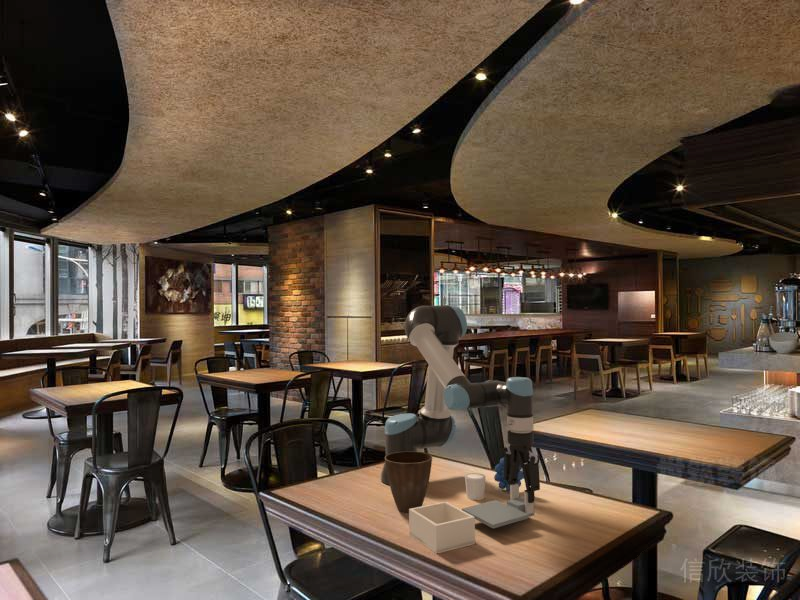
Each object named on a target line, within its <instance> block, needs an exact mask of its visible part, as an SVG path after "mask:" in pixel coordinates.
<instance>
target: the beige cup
mask: <svg viewBox="0 0 800 600" xmlns="http://www.w3.org/2000/svg"><path fill="white" fill-rule="evenodd" d="M464 481H465V490H466V498H467V499H469V500H471V501H480V500H483V499H485V488H486V475H485V474H482V473H475V472H474V473H467V474H465V475H464Z"/></svg>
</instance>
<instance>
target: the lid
mask: <svg viewBox="0 0 800 600" xmlns="http://www.w3.org/2000/svg"><path fill="white" fill-rule="evenodd" d="M461 510H463V511H464V512H466V513H468V514H470V515H472V516H474V517H475V521H478V522H479V523H482V524H483V525H486V526H488V528H491V529H497V528H501V527H504V526H506V525H510V524H513V523H517V522H520V521H521V522H522V521H524V520H527V519H530V517H533V516H535V512H534V513H531V514H527V513H525V499H524V496H521V497H520V496H519V498H516V499H512V500H510V499H509V500H508V499H507V500H506V503H503V502H502V501H499V500H497V499H494V500H491V501H486V502H483V503H479V504H475V505H471V506H467V507H464V508H461Z"/></svg>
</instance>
